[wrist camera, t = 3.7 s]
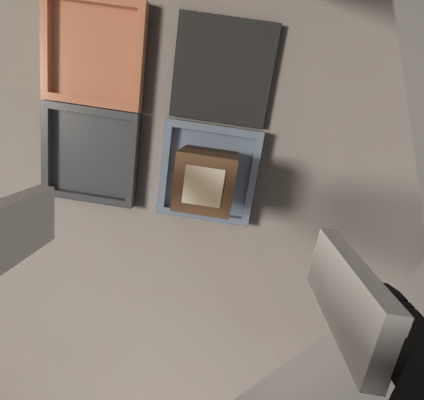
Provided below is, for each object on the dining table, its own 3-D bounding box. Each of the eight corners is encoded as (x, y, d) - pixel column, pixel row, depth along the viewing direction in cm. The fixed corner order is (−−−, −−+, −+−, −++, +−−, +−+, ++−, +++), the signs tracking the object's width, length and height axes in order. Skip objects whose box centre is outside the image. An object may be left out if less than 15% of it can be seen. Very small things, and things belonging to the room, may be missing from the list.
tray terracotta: (47, -10, 28) (39, -16, 27) (149, 4, 28) (146, -1, 26) (47, 99, 30) (40, 98, 29) (141, 113, 30) (138, 112, 29)
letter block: (187, 144, 30) (175, 151, 24) (237, 151, 30) (238, 160, 24) (181, 194, 32) (169, 212, 26) (229, 201, 32) (228, 221, 26)
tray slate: (168, 117, 30) (165, 118, 29) (263, 132, 30) (264, 132, 29) (158, 209, 33) (156, 212, 31) (247, 222, 32) (247, 226, 31)
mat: (180, 11, 28) (179, 9, 27) (281, 25, 27) (282, 23, 27) (170, 115, 30) (169, 115, 29) (262, 128, 30) (262, 128, 29)
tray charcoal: (47, 100, 30) (40, 99, 29) (141, 114, 30) (138, 114, 29) (48, 192, 33) (41, 194, 32) (134, 205, 33) (131, 208, 32)
